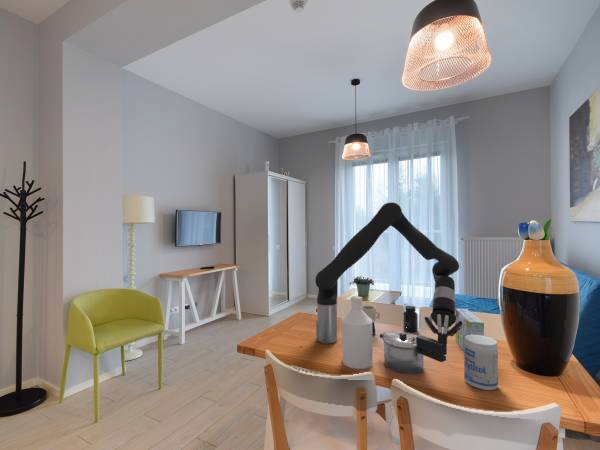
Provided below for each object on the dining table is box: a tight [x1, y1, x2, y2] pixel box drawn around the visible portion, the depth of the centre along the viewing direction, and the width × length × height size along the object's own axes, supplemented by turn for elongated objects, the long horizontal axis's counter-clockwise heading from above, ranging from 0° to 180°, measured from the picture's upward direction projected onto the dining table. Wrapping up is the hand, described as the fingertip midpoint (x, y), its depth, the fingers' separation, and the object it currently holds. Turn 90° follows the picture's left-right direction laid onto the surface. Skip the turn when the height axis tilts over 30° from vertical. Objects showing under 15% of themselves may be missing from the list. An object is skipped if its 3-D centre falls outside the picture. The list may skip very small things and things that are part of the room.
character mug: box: [362, 304, 381, 335], centre depth 144 cm, size 11×7×13 cm, turn 60°
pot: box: [379, 332, 447, 375], centre depth 108 cm, size 27×14×9 cm, turn 32°
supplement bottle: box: [402, 305, 419, 333], centre depth 148 cm, size 7×7×12 cm
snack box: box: [455, 308, 485, 352], centre depth 123 cm, size 21×6×15 cm, turn 166°
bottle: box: [341, 295, 373, 370], centre depth 113 cm, size 12×12×25 cm
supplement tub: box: [463, 335, 499, 391], centre depth 96 cm, size 10×10×15 cm
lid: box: [382, 331, 448, 356], centre depth 106 cm, size 24×15×4 cm, turn 33°
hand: (442, 345), depth 100 cm, fingers closed
